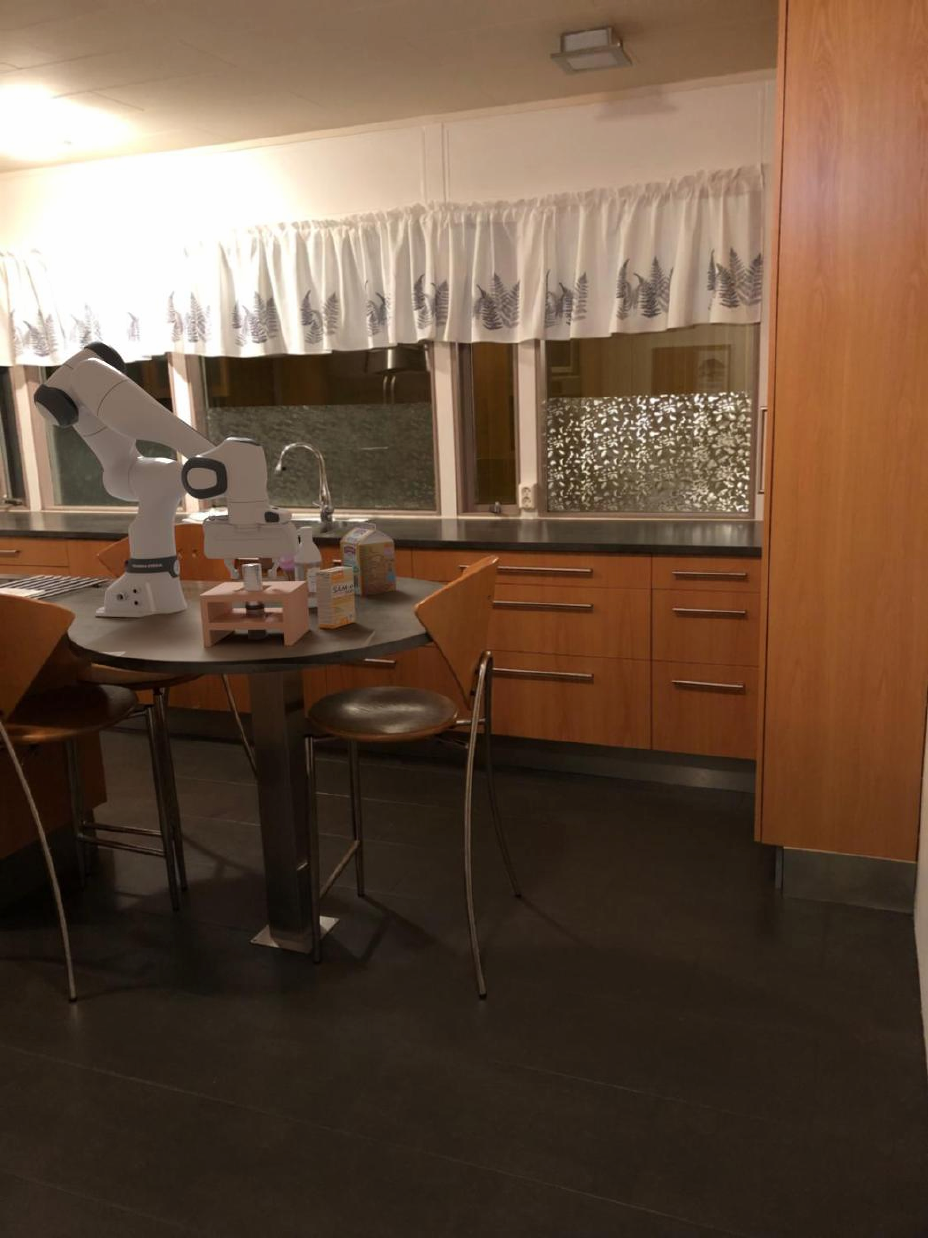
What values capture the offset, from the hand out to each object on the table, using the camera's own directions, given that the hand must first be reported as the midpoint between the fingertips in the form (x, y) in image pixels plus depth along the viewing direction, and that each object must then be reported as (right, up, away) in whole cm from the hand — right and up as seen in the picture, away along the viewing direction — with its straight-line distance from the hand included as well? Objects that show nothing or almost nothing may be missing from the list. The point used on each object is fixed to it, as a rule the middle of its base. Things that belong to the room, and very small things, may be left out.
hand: (253, 578), depth 213 cm
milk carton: (+20, -2, +53) cm, 57 cm away
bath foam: (+6, -6, +38) cm, 39 cm away
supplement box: (+16, -10, +13) cm, 23 cm away
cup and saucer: (-14, +5, +91) cm, 93 cm away
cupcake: (-3, +1, +70) cm, 70 cm away
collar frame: (0, -13, +3) cm, 13 cm away
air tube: (0, -13, +3) cm, 13 cm away
